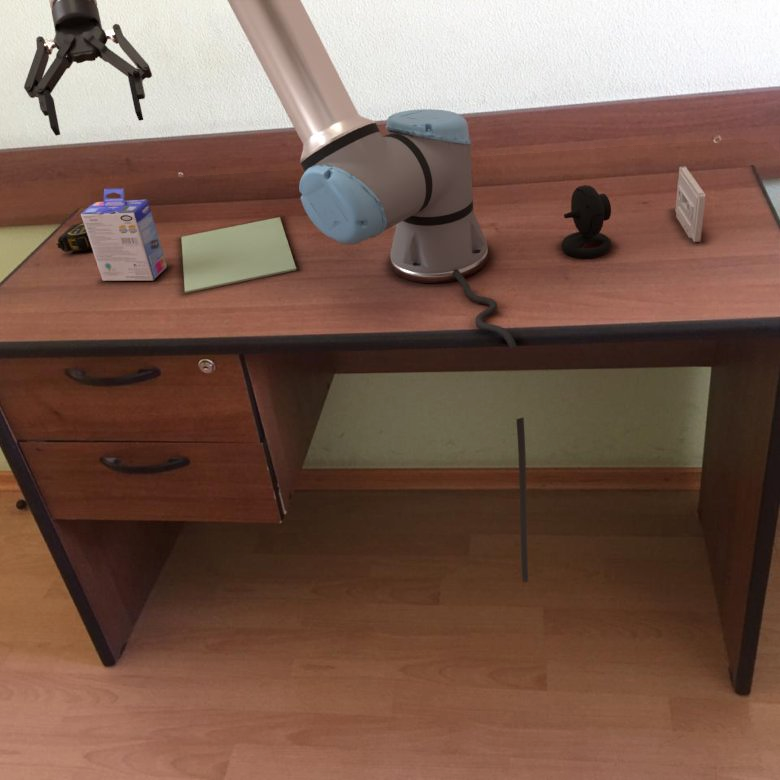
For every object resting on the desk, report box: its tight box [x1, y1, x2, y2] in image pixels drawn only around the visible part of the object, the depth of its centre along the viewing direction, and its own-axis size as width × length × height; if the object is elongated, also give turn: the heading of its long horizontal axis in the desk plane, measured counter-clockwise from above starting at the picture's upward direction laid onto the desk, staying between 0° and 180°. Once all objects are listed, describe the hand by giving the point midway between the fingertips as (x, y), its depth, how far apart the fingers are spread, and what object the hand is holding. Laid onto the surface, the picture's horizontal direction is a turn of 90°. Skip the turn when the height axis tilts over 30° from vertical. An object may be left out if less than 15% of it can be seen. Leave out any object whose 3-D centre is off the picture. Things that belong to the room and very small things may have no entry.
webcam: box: [561, 184, 612, 259], centre depth 126 cm, size 8×8×10 cm
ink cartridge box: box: [80, 187, 168, 282], centre depth 136 cm, size 10×6×14 cm, turn 78°
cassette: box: [674, 165, 707, 243], centre depth 129 cm, size 12×2×8 cm, turn 178°
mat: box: [181, 216, 297, 294], centre depth 142 cm, size 22×18×1 cm
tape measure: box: [56, 222, 92, 252], centre depth 151 cm, size 7×7×4 cm
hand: (97, 123), depth 136 cm, fingers open, 13 cm apart
